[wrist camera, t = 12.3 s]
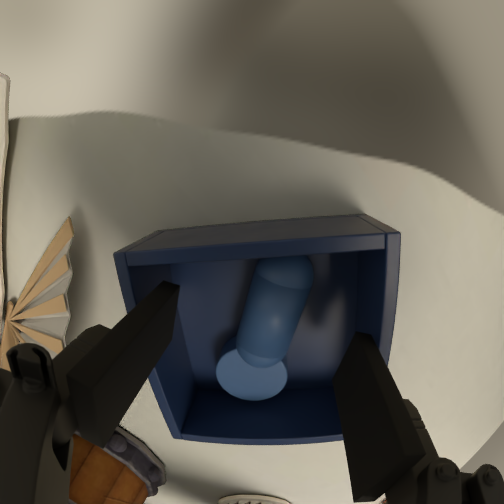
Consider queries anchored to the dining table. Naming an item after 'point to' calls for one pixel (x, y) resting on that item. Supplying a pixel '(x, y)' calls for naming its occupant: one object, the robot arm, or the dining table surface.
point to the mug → (113, 471)
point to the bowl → (3, 165)
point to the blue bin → (231, 309)
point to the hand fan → (43, 301)
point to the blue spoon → (266, 329)
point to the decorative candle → (251, 500)
